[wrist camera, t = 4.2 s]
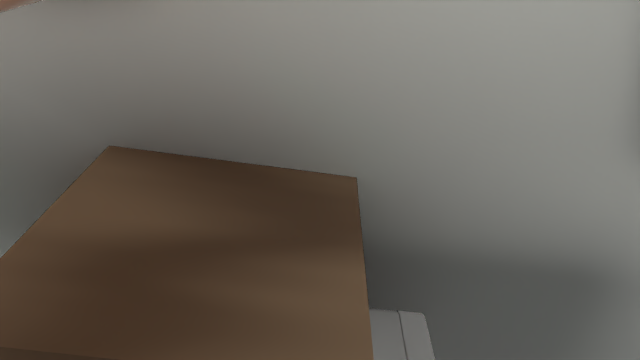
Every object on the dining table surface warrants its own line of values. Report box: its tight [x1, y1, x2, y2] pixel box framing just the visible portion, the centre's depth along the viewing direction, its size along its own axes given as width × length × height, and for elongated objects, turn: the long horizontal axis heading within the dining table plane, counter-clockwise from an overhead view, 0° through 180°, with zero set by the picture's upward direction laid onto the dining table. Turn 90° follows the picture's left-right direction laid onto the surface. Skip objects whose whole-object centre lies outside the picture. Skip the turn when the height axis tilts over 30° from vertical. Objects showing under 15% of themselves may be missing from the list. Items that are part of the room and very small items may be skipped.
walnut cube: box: [0, 146, 374, 360], centre depth 9 cm, size 5×5×5 cm
